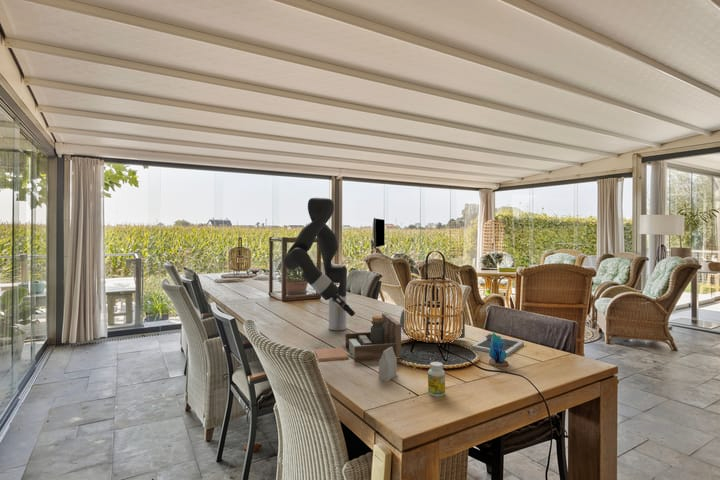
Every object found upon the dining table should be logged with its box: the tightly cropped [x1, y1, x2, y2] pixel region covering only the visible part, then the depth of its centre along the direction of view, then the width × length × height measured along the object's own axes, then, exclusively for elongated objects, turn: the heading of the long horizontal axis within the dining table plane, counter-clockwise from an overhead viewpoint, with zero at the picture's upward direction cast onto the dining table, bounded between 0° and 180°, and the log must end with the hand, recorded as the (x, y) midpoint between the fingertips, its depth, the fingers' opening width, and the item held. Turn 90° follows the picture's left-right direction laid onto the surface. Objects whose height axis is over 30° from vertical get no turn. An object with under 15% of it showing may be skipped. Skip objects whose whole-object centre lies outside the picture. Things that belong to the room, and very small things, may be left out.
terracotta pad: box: [314, 347, 349, 362], centre depth 165 cm, size 12×12×1 cm
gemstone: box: [488, 332, 509, 368], centre depth 154 cm, size 7×9×12 cm
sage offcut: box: [348, 339, 360, 357], centre depth 167 cm, size 14×3×4 cm, turn 13°
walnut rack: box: [344, 312, 402, 363], centre depth 168 cm, size 21×19×14 cm
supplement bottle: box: [427, 361, 446, 397], centre depth 127 cm, size 5×5×10 cm
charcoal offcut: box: [358, 335, 372, 345], centre depth 168 cm, size 12×3×6 cm, turn 13°
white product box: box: [378, 347, 398, 382], centre depth 141 cm, size 4×7×10 cm, turn 150°
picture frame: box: [470, 333, 525, 357], centre depth 177 cm, size 16×3×21 cm
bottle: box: [370, 315, 384, 345], centre depth 169 cm, size 6×6×15 cm
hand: (351, 312), depth 166 cm, fingers open, 8 cm apart
